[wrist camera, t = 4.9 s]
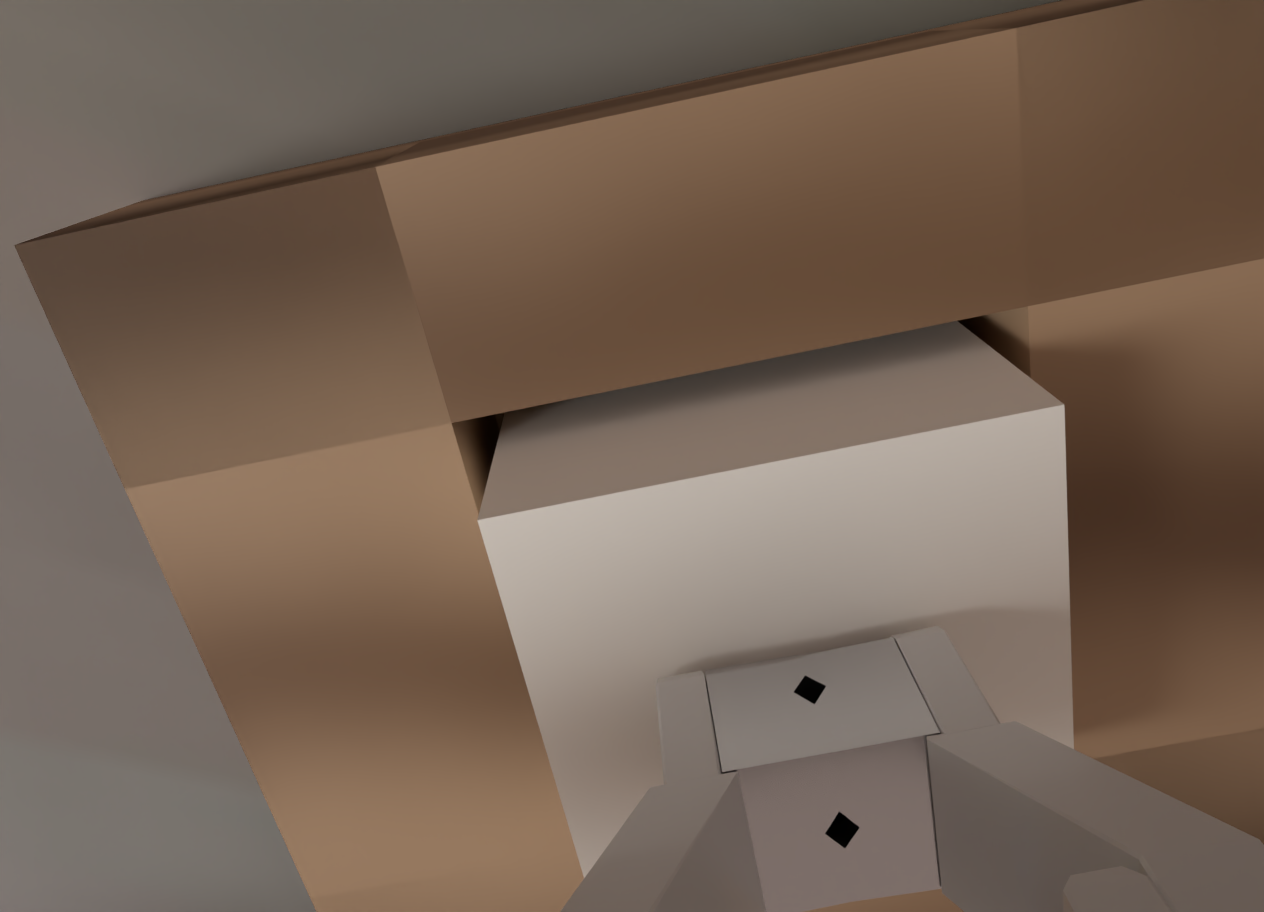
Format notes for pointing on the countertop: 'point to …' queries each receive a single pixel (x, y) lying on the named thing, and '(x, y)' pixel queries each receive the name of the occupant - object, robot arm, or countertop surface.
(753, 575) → the cream key
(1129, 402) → the two-button wooden panel
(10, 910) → the countertop surface
